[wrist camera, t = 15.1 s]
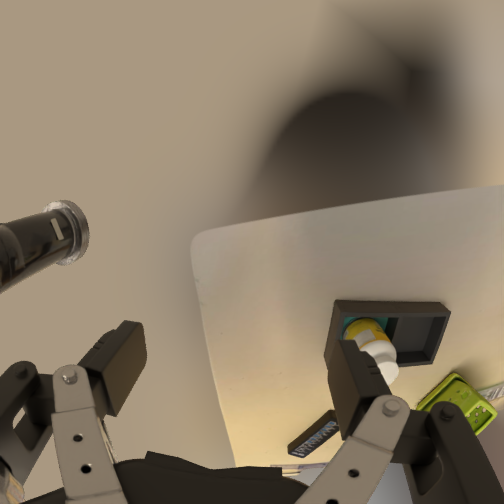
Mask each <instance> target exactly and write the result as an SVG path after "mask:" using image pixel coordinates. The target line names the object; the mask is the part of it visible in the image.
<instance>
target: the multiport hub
mask: <svg viewBox="0 0 504 504" xmlns="http://www.w3.org/2000/svg"><path fill="white" fill-rule="evenodd" d="M339 430H340V429H339V425H338V421H337V416H336V412H335V411H333V410H329V411H327V412H326V413H325V414H324V415H323V416H322V417H321V418H320V419H319V420H318V421H316V422H315V423H314V424H313V425H312V426H311V427H309V428H308V429H307V430H306V431H305V432H304V433H302V434H301V435H300V436H299V437H298V438H296V439H295V440H294V441H293V442H291V443H290V444H289V445H288V446H287V447H288V454H289V455H293V456H296V457H300V458H304V457H306V456H307V455H309V454H310V453H311V452H313V451H314V450H315V449H317V448H318V447H319V446H320V445H322V444H323V443H324V442H326V441H327V440H328V439H329V438H331V437H332V436H333V435H334V434H335V433H337V432H338V431H339Z"/></svg>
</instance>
